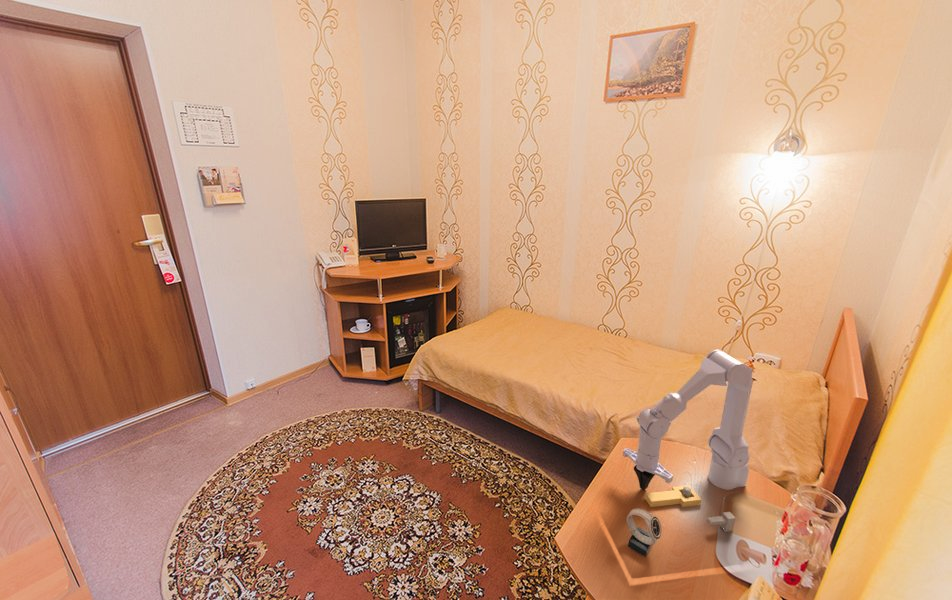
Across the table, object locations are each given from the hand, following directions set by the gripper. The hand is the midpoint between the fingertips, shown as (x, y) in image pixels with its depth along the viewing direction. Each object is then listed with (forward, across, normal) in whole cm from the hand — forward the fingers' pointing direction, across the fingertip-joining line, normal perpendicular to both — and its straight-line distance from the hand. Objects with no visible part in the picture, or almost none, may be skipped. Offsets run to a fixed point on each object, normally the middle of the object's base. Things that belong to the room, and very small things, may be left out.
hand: (643, 487), depth 115 cm
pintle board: (+2, +11, +2) cm, 11 cm away
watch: (+2, +10, -17) cm, 20 cm away
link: (+1, +7, +3) cm, 8 cm away
